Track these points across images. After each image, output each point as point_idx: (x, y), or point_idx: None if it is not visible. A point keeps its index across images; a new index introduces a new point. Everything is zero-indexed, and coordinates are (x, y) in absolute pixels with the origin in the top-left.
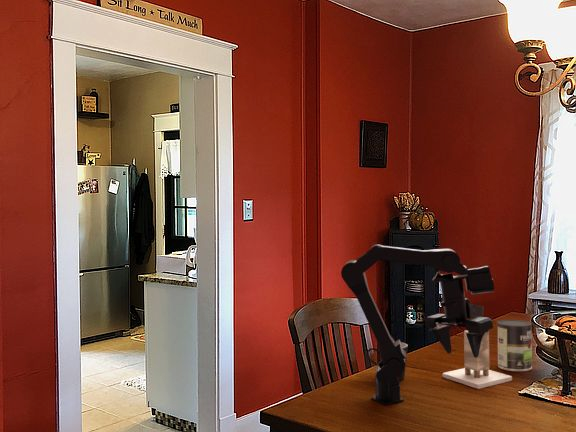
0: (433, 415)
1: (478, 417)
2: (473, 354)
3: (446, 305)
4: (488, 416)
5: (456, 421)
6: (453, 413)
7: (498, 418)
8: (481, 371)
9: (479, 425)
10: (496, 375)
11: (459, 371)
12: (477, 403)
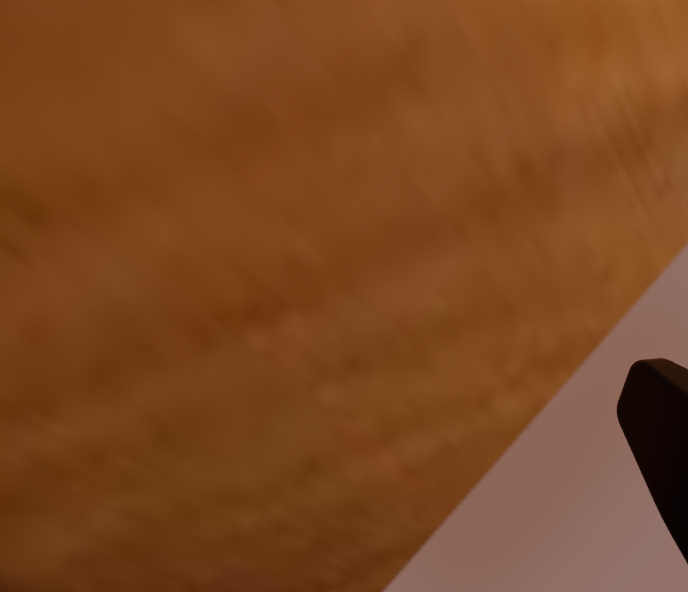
0: (288, 481)
1: (485, 282)
2: (652, 476)
3: None
4: (519, 216)
5: (438, 426)
6: (338, 366)
7: (581, 188)
8: None
9: (556, 360)
10: None
11: None
12: (293, 59)
